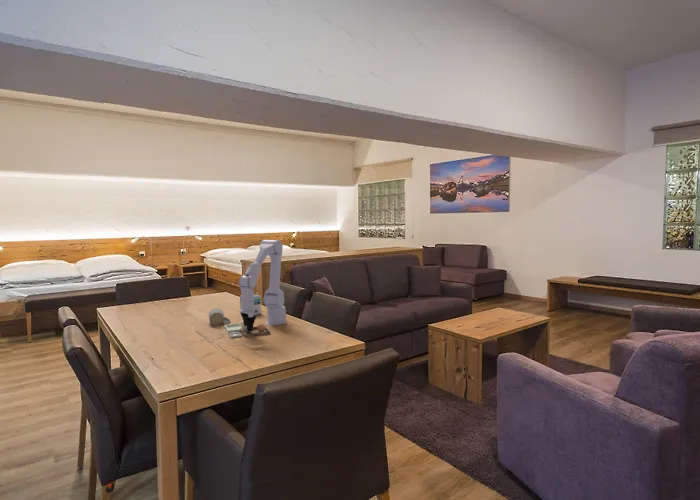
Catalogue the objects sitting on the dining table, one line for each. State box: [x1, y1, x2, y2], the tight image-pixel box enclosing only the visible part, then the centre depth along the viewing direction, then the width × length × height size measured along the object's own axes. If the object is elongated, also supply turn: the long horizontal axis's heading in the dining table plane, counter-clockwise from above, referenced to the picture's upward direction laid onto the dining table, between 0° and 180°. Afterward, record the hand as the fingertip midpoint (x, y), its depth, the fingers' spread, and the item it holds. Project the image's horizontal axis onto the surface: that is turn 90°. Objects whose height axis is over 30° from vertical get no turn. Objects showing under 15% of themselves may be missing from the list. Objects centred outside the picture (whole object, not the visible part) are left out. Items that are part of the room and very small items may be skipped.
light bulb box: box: [239, 294, 262, 316], centre depth 239 cm, size 11×7×11 cm, turn 58°
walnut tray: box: [240, 325, 271, 338], centre depth 198 cm, size 12×12×2 cm
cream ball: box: [239, 319, 245, 328], centre depth 206 cm, size 4×4×4 cm
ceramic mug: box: [208, 307, 231, 326], centre depth 216 cm, size 11×8×8 cm
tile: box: [227, 332, 243, 339], centre depth 194 cm, size 5×8×1 cm, turn 24°
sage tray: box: [224, 322, 244, 334], centre depth 205 cm, size 12×12×2 cm
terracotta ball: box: [257, 323, 266, 332], centre depth 199 cm, size 4×4×4 cm
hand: (248, 328), depth 197 cm, fingers open, 7 cm apart
